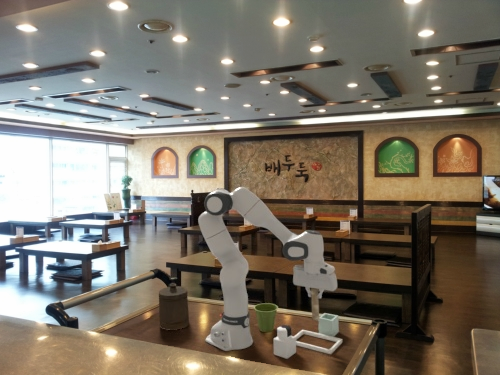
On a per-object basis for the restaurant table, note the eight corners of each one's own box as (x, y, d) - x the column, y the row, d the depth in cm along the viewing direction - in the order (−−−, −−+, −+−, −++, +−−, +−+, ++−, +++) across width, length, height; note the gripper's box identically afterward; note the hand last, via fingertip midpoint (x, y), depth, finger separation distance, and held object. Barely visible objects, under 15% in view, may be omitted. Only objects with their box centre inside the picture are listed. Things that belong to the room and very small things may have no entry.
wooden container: (192, 319, 221) (190, 278, 219) (185, 331, 206) (182, 288, 204) (164, 319, 222) (162, 279, 221) (156, 331, 208) (153, 288, 206)
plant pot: (276, 335, 198) (276, 312, 197) (252, 333, 200) (251, 311, 200) (280, 325, 210) (279, 303, 209) (257, 323, 212) (256, 302, 211)
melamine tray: (289, 345, 187) (289, 340, 187) (302, 334, 198) (302, 329, 198) (330, 356, 176) (330, 350, 176) (342, 344, 186) (342, 339, 186)
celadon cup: (318, 336, 195) (318, 317, 194) (324, 330, 201) (324, 312, 200) (332, 339, 191) (332, 320, 190) (338, 334, 197) (338, 315, 196)
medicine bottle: (282, 348, 185) (282, 322, 184) (296, 352, 180) (295, 325, 179) (273, 354, 179) (272, 327, 178) (287, 359, 175) (286, 331, 174)
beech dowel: (311, 319, 185) (310, 289, 184) (314, 317, 188) (313, 287, 187) (317, 321, 184) (316, 290, 183) (320, 318, 186) (319, 288, 185)
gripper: (290, 265, 187) (291, 295, 188) (332, 271, 175) (333, 303, 177) (296, 262, 192) (297, 291, 193) (338, 267, 181) (339, 298, 182)
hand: (315, 297), depth 185 cm, fingers closed on beech dowel, 3 cm apart
